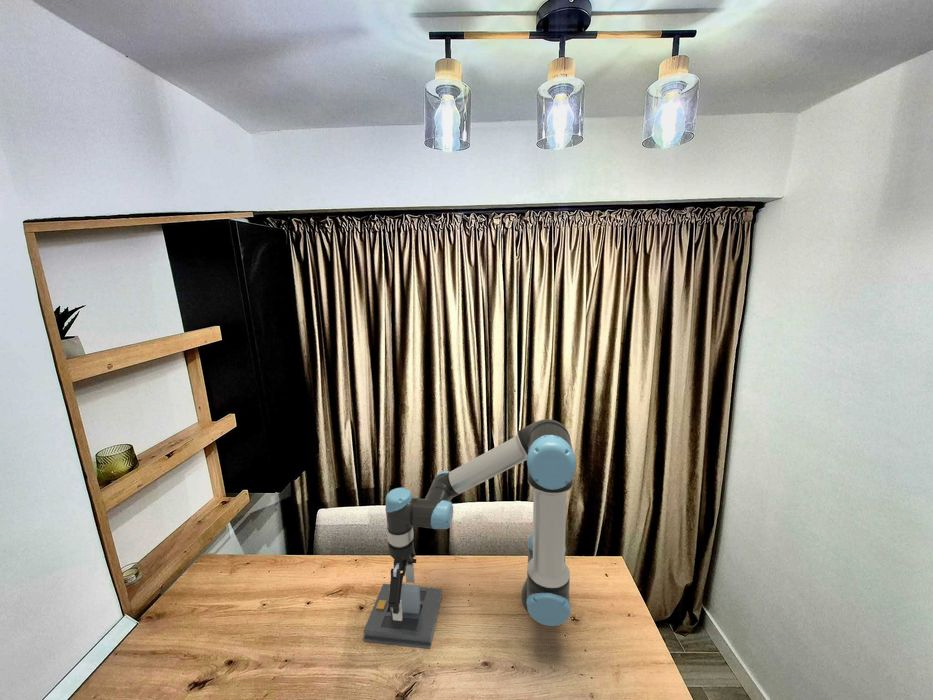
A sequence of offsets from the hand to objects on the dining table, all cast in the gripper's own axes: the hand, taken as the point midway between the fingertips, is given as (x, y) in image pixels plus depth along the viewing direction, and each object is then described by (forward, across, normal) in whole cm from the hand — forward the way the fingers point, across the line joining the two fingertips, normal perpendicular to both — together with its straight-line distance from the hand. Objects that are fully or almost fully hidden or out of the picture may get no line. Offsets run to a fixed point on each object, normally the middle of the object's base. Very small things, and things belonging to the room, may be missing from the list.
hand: (404, 599), depth 114 cm
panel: (+6, 0, 0) cm, 6 cm away
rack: (+7, 0, 0) cm, 7 cm away
